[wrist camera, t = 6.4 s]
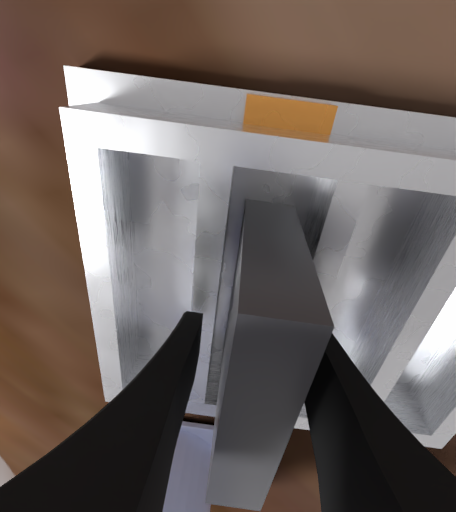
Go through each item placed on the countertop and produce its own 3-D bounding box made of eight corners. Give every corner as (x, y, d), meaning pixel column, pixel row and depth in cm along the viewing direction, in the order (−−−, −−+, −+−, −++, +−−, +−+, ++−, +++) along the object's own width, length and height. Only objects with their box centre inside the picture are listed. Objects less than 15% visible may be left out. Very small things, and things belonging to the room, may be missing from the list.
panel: (257, 356, 17) (260, 511, 11) (222, 351, 17) (205, 503, 11) (294, 205, 12) (334, 326, 6) (245, 198, 12) (237, 313, 6)
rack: (421, 401, 19) (453, 461, 16) (113, 358, 19) (87, 409, 16) (614, 138, 11) (750, 159, 8) (78, 67, 11) (12, 61, 8)
